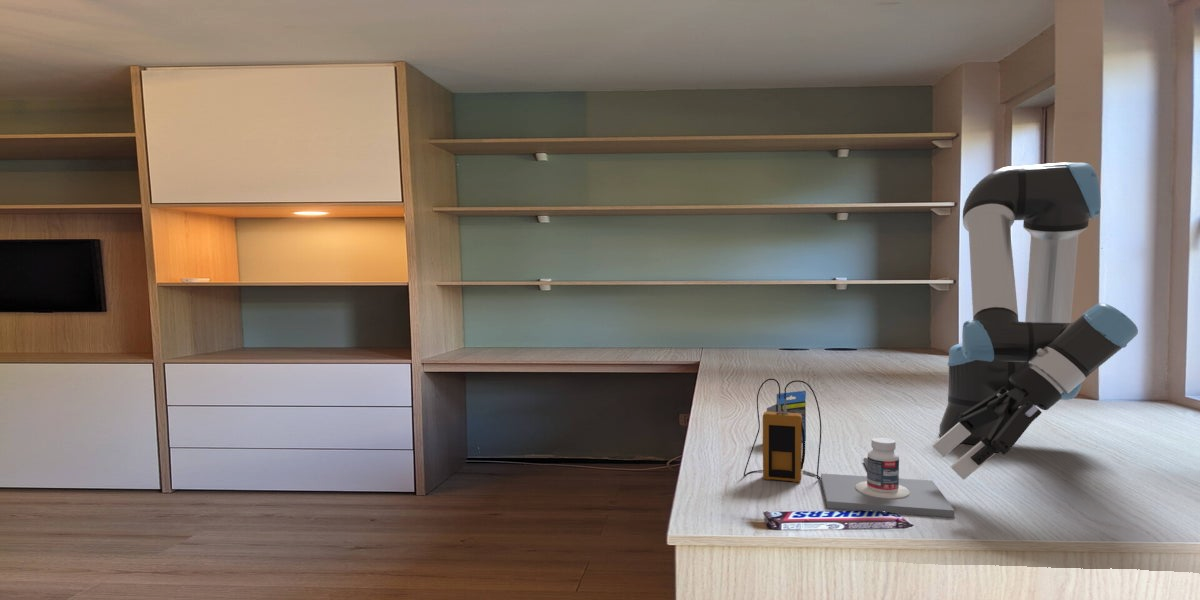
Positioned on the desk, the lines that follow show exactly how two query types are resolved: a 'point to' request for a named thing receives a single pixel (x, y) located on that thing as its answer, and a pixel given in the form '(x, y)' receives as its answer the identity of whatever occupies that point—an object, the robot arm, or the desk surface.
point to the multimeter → (783, 443)
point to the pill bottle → (883, 466)
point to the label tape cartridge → (792, 405)
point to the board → (885, 496)
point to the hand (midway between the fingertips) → (946, 461)
